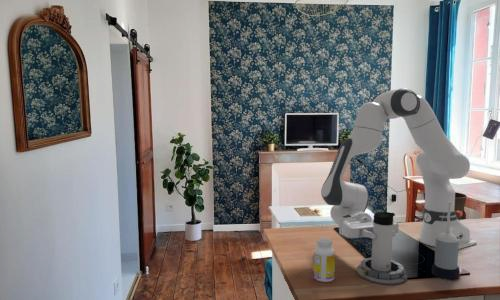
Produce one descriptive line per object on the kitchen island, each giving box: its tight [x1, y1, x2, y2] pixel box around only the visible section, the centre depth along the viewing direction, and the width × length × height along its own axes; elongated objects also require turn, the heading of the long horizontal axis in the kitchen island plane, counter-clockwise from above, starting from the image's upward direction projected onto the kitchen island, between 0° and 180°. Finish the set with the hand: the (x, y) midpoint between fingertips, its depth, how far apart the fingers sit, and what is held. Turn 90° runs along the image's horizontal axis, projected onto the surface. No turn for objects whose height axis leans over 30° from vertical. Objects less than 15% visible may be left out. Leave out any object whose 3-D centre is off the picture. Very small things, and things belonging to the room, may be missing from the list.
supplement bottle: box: [313, 237, 336, 283], centre depth 121 cm, size 7×7×13 cm
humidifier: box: [431, 201, 462, 281], centre depth 123 cm, size 8×8×25 cm
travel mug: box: [370, 211, 396, 272], centre depth 124 cm, size 6×7×20 cm
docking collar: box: [356, 257, 408, 286], centre depth 125 cm, size 16×16×3 cm
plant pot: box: [454, 191, 468, 222], centre depth 175 cm, size 15×15×16 cm
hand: (384, 235), depth 123 cm, fingers closed on travel mug, 6 cm apart
